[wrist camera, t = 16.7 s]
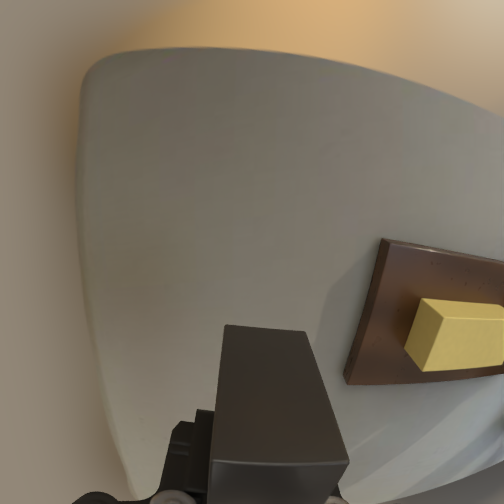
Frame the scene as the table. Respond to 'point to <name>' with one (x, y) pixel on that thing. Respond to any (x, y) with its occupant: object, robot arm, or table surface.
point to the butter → (456, 335)
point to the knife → (272, 422)
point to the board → (406, 305)
